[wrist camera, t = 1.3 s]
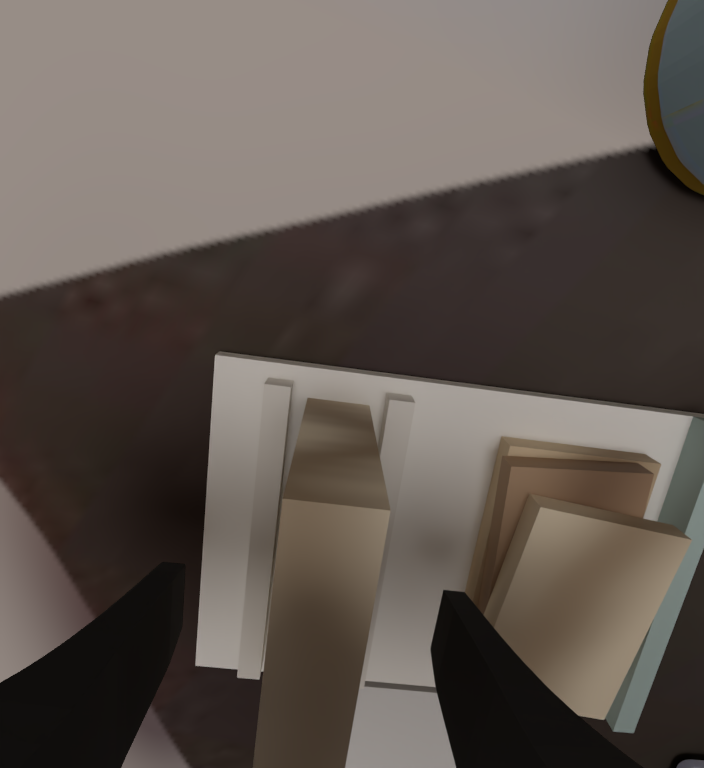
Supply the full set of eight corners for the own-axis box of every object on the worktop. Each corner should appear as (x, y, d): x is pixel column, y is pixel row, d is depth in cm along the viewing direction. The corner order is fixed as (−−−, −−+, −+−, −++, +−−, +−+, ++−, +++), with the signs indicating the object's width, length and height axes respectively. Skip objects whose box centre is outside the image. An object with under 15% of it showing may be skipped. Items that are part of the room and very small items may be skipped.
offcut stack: (655, 455, 15) (710, 489, 13) (584, 669, 18) (622, 730, 15) (496, 435, 15) (524, 466, 13) (445, 656, 17) (461, 717, 15)
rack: (716, 415, 16) (762, 434, 14) (618, 690, 19) (646, 734, 17) (220, 351, 15) (203, 362, 13) (200, 652, 18) (184, 694, 16)
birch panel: (369, 405, 15) (390, 510, 8) (330, 656, 17) (324, 881, 11) (307, 397, 15) (282, 498, 8) (277, 651, 17) (240, 876, 11)
